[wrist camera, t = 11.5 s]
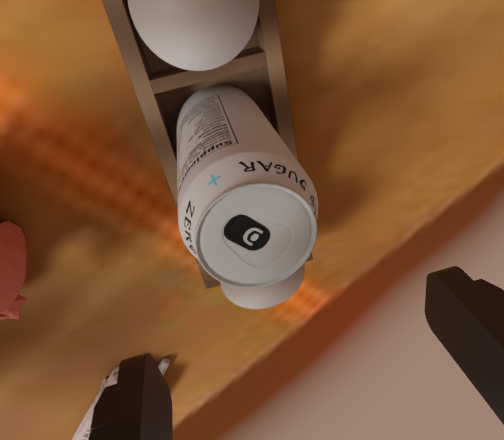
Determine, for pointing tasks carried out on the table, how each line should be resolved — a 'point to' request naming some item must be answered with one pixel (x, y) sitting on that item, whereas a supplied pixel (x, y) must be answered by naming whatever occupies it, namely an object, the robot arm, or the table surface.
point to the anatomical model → (11, 269)
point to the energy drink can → (241, 191)
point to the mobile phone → (85, 427)
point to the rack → (205, 82)
